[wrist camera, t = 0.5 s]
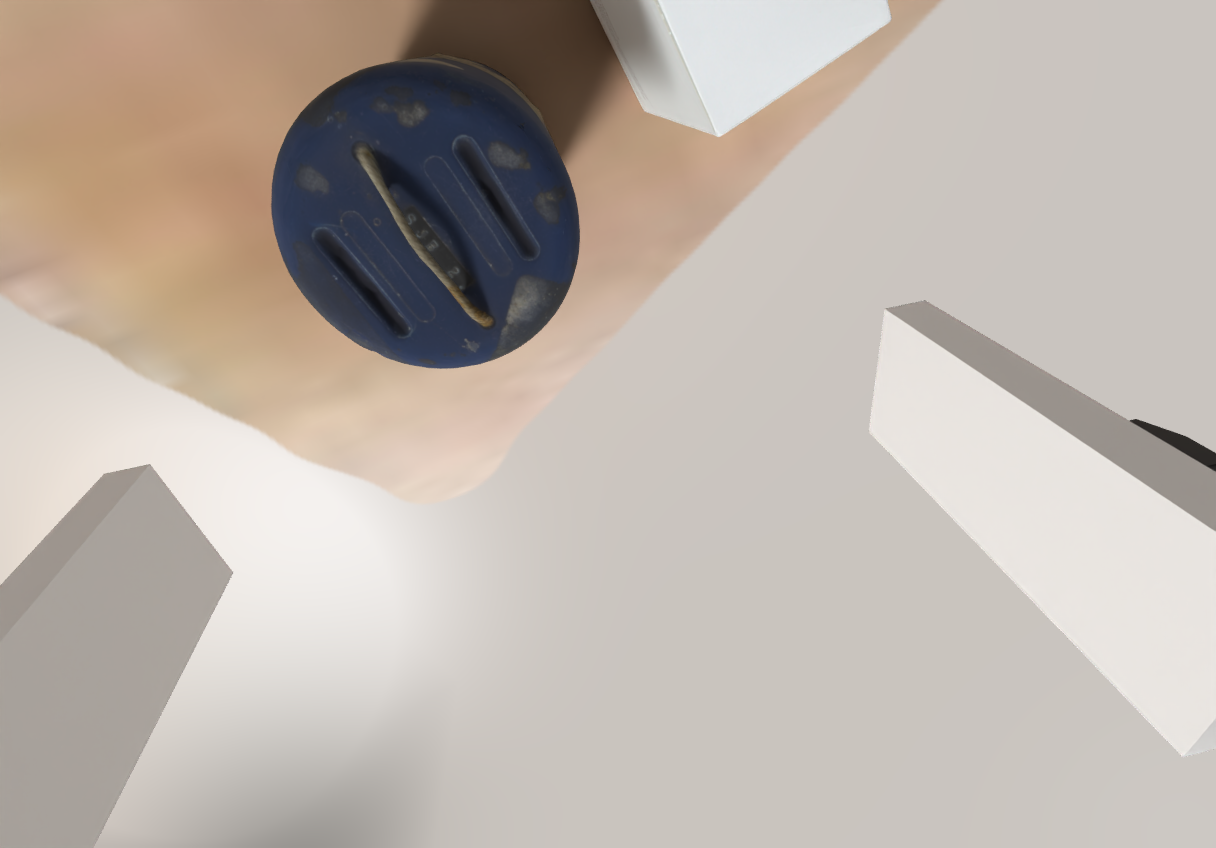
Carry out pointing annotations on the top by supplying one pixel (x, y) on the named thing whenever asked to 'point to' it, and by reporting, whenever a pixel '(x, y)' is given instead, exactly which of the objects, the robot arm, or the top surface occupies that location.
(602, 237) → the top surface
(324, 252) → the canister
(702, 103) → the supplement box
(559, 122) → the top surface
